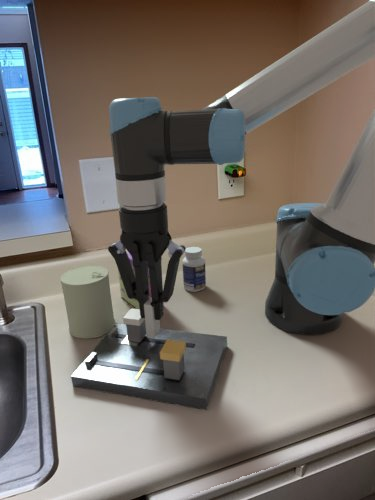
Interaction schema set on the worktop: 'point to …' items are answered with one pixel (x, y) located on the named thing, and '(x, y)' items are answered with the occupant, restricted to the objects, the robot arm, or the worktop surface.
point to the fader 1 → (135, 325)
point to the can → (88, 301)
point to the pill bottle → (194, 270)
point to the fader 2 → (173, 359)
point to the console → (153, 367)
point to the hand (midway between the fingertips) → (153, 333)
